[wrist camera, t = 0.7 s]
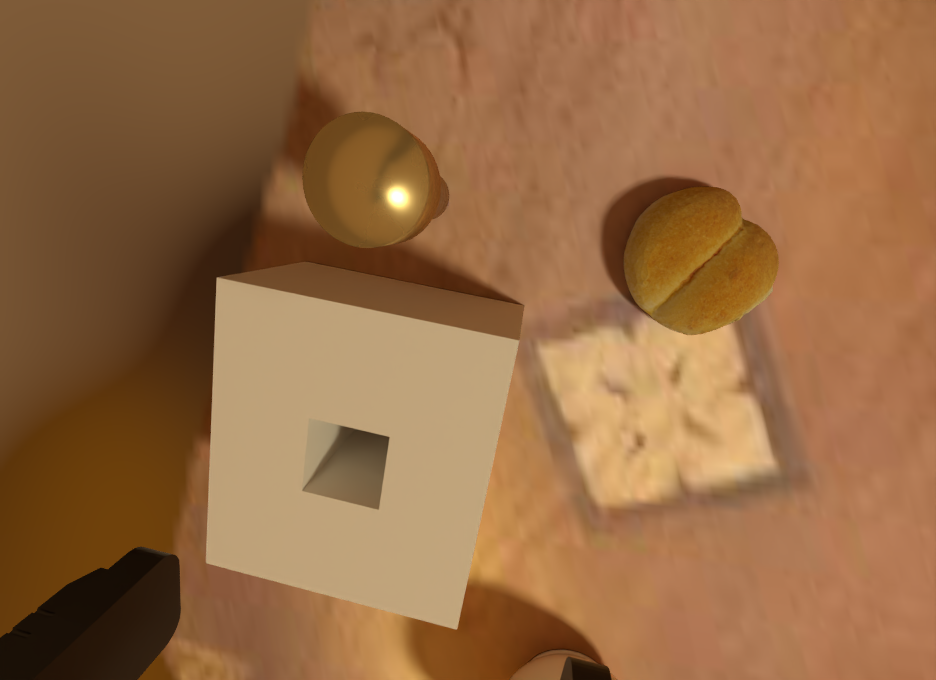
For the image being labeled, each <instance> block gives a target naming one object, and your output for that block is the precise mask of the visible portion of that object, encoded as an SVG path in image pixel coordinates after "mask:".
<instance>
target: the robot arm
mask: <svg viewBox="0 0 936 680" xmlns="http://www.w3.org/2000/svg"><path fill="white" fill-rule="evenodd" d="M180 612H181V606H180V567H179V559H178V557H177V556H176V555H173V554H169V553H165V552H160V551H157V550H153V549H149V548H145V547H137V548H134V549H133V550H131V551H130V552H128V553H127V554H126V555H125V556H123V557H122V558H121V559H120V560H119V561H118V562H116V563H115V564H114V565H113V566H112V567H110V568H109V569H104V568H99V569H97V570H95V571H93V572H91V573H89V574H87V575H85V576H83V577H81V578H79V579H77V580H75V581H73V582H71V583H69V584H67V585H66V586H65V587H64V588H62V589H61V590H60V591H58V592H57V593H56V594H55V595H53V596H52V597H51V598H50V599H49V600H47V601H46V602H45V603H43V604H42V605H41V606H40V607H38V609H37V611H36V612H35V613H31V614H30V615H28V616H27V617H26V618H25V619H23V620H22V621H21V622H20V623H18V624H17V625H16V626H15V627H13V630H12V631H11V632H10V633H6V634H5V635H3V636H2V637H1V638H0V680H137V679H138V678H139V677H140V676H141V675H142V674H143V672H144V671H145V670H146V669H147V668H148V667H149V665H150V664H151V663H152V662H153V661H154V660H155V658H156V657H157V656H158V655H159V654H160V653H161V651H162V650H163V649H164V648H165V647H166V645H167V644H168V642H169V641H170V639H171V638H172V636H173V634H174V632H175V630H176V628H177V625H178V622H179V618H180ZM560 680H612V679H611V674H610V670H609V668H608V667H607V666H605V665H601V664H597V663H593V662H589V661H585V660H581V659H577V658H573V657H569V656H568V657H567V658H566V661H565V664H564V667H563V671H562V674H561V678H560Z"/></svg>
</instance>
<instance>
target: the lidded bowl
mask: <svg viewBox="0 0 936 680" xmlns="http://www.w3.org/2000/svg"><path fill="white" fill-rule="evenodd" d="M568 656H569V657H573V658H577V659H581V660H585V661H589V662H593V663H597V662H595V661H594V660H593V659H591V658H590V657H588V656H586V655H584V654H582V653H579V652H576V651H572V650H565V649H557V650H550V651H546V652H543V653H541V654H539V655H537V656H536V657H534V658H533V659H532V660H531V661H530V662H528V663H527V664H525V665H524V666H522V667H521V668H520V669H519V670H517V671H516V672H515V673H514V674H513V676H512V677H511V678H510V679H509V680H560V678H561V674H562V671H563V667H564V664H565V661H566V658H567V657H568ZM597 664H598V663H597ZM610 674H611V673H610ZM611 679H612V680H617V679H616V678H615V677H614V676H613V675H612V674H611Z"/></svg>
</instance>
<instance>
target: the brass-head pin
mask: <svg viewBox="0 0 936 680" xmlns="http://www.w3.org/2000/svg"><path fill="white" fill-rule="evenodd" d="M303 189H304V193H305V198H306V201H307V203H308V206H309V208H310V210H311V212H312V214H313V216H314V217H315V219H316V220H317V222H318V223H319V224H320V225H321V227H322V228H323V229H324V230H325V231H326V232H327V233H329V234H330V235H331V236H333V237H334V238H336V239H337V240H339V241H341V242H343V243H346V244H348V245H351V246H355V247H361V248H374V247H381V246H387V245H393V244H399V243H402V242H405V241H408V240H410V239H412V238H414V237H415V236H417V235H418V234H419V233H421V232H422V231H423V230H424V229H425V228H426V227H427V226H428V224H429V223H430V221H431V220H432V219H435V218H437V217H439V216H440V215H441V214H442V213H443V212H444V211H445V209H446V207H447V205H448V202H449V190H448V187H447V184H446V183H445V181H444V180H443V178H442V177H441V176H440V174H439V170H438V167H437V164H436V162H435V159H434V157H433V155H432V154H431V152H430V151H429V149H428V148H427V147H426V145H425V144H424V143H423V142H422V141H421V140H420V139H419V138H417V137H416V136H415V135H413V134H412V133H410V132H409V131H408V130H406V129H405V128H403V127H402V126H400V125H399V124H398V123H396V122H394V121H393V120H391V119H389V118H387V117H385V116H382V115H380V114H375V113H371V112H354V113H349V114H345V115H342V116H340V117H338V118H336V119H334V120H332V121H331V122H329V123H328V124H327V125H325V126H324V127H323V128H322V129H321V130H320V131H319V132H318V134H317V135H316V136H315V137H314V139H313V141H312V142H311V144H310V146H309V148H308V151H307V153H306V157H305V160H304V166H303Z"/></svg>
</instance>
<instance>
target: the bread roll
mask: <svg viewBox="0 0 936 680" xmlns="http://www.w3.org/2000/svg"><path fill="white" fill-rule="evenodd" d="M778 264H779V261H778V253H777V249H776V246H775V244H774V242H773V240H772V239H771V237H770V236H769V235H768V233H766V232H765V231H764V230H763V229H762V228H761V227H759V226H758V225H756V224H754V223H752V222H750V221H746V220H744V219H743V218H742V217H741V208H740V205H739V203H738V201H737V199H736V198H735V197H734V196H733V195H732V194H731V193H729V192H728V191H726V190H724V189H721V188H717V187H692V188H687V189H683V190H679V191H677V192H674V193H671V194H668V195H666V196H663V197H661V198H660V199H658V200H656V201H655V202H653V203H652V204H651V205H650V206H649V207H648V208H647V209H646V210H645V211H644V212H643V213H642V214H641V215H640V216H639V218H638V219H637V221H636V222H635V224H634V227H633V229H632V231H631V233H630V236H629V238H628V241H627V244H626V248H625V251H624V264H623V265H624V274H625V278H626V279H625V280H626V282H627V285H628V288H629V291H630V293H631V295H632V297H633V299H634V301H635V302H636V303H637V304H638V306H639V307H640V308H641V309H643V310H644V311H645V312H646V313H648V314H649V315H650V316H651V317H652V318H653V319H654V320H655V321H657V322H658V323H660V324H661V325H663V326H665V327H667V328H669V329H671V330H673V331H676V332H679V333H683V334H686V335H696V334H703V333H706V332H710V331H712V330H716V329H718V328H720V327H723V326H725V325H728V324H731V323H733V322H734V321H737V320H740V319H741V317H742V316H743V315H744V314H746V313H748V312H749V311H751V310H752V309H753V308H755V307H756V306H757V305H758V304H760V303H761V302H763V301H764V300H765V299H766V298H767V297H768V296H769V295H770V294H771V292H772V291H773V287H772V286H773V283H774V281H775V278H776V275H777V271H778Z"/></svg>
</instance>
